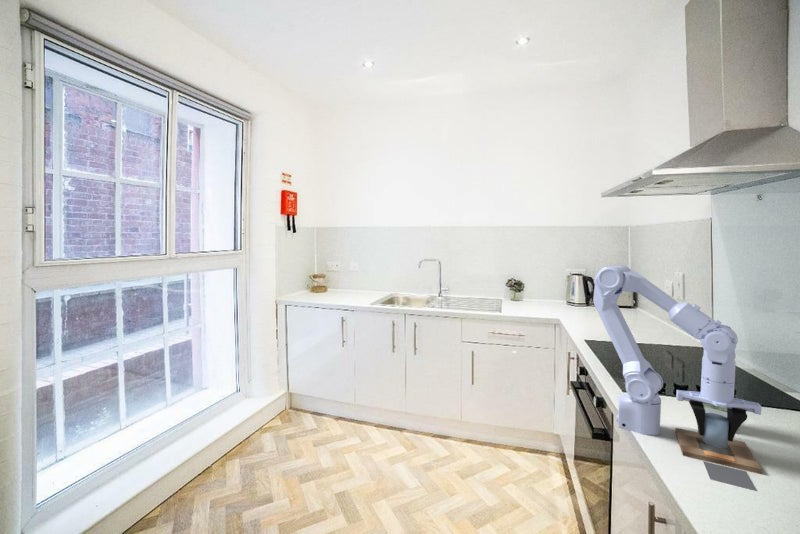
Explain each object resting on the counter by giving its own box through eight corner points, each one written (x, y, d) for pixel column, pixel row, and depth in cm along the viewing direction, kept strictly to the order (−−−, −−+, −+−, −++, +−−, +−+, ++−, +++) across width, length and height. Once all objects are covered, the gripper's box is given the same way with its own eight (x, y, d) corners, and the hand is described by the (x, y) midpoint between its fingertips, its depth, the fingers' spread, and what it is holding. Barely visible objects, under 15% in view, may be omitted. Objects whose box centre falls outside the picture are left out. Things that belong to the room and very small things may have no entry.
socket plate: (682, 459, 81) (683, 450, 81) (675, 435, 91) (675, 427, 91) (761, 478, 75) (761, 468, 74) (743, 450, 85) (744, 441, 85)
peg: (704, 444, 82) (705, 419, 82) (700, 435, 86) (701, 411, 85) (730, 450, 80) (731, 424, 79) (725, 440, 84) (726, 415, 83)
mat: (710, 483, 73) (710, 479, 73) (702, 465, 79) (703, 461, 79) (757, 496, 69) (757, 491, 69) (745, 475, 75) (746, 471, 75)
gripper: (680, 378, 82) (677, 435, 83) (767, 391, 75) (764, 454, 76) (675, 369, 88) (673, 422, 89) (756, 380, 81) (753, 438, 82)
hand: (714, 436), depth 83 cm, fingers closed on peg, 4 cm apart
